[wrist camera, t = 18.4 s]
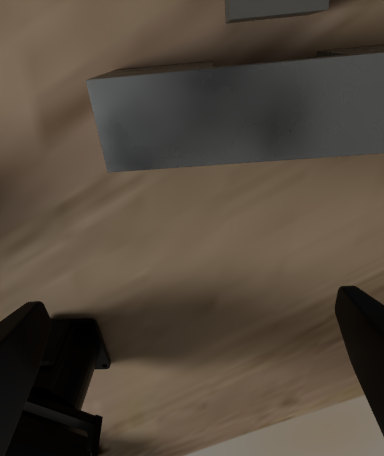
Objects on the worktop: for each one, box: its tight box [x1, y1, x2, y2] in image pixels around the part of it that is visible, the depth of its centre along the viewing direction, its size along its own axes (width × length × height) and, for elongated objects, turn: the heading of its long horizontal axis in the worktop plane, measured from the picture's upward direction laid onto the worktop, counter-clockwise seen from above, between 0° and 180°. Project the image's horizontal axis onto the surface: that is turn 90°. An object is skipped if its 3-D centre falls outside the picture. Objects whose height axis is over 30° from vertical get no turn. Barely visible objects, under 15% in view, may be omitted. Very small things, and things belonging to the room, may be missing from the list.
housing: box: [86, 45, 384, 172], centre depth 15 cm, size 4×16×5 cm, turn 95°
